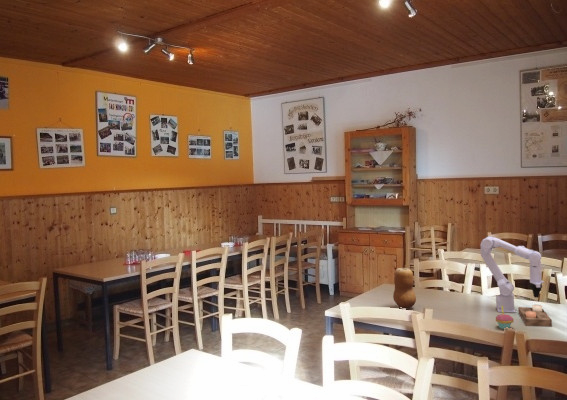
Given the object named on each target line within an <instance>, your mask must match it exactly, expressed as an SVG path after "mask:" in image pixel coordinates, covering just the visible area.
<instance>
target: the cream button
mask: <svg viewBox="0 0 567 400" xmlns="http://www.w3.org/2000/svg"><path fill="white" fill-rule="evenodd" d="M531 306H532V307H531V308H532V311H533V312H542V309H543V306H542V305H541V304H532V305H531Z"/></svg>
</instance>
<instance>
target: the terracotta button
mask: <svg viewBox="0 0 567 400" xmlns="http://www.w3.org/2000/svg"><path fill="white" fill-rule="evenodd" d="M526 317H528V318H536V312H533V311H527V312H526Z"/></svg>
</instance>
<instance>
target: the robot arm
mask: <svg viewBox="0 0 567 400" xmlns="http://www.w3.org/2000/svg"><path fill="white" fill-rule="evenodd" d="M500 247H501V248H502V249H505V250H508V251H511V252H514V254H515V255H516V256H518V257H520V258H523V259H525V260H528V261H529V283H530V284H529V286H530V287H531V290H532V294H533V297H534V298H537V299H538V298H539V297H540V293H541V290H542V288H543V285H542V284H543V283H545V281H544V280H542V261H541V260H542V254H541V253H540V252H539V251H538V250H534V249H530V248H527V247H525V246H524V245H517V246H516V245H514V244H511V243H509V242H507V241H504V240H502V239H500V238H498V237H494V236H491V235H490V236H489V235H488V236H486V237H485V238H483V239H482V240H481V242H480V257H481V258H482V260H483V261H484V263H485V265H486V266H487V268H488V269H489V271H490V273H491V274H492V276H493V278H494V280H495V281H496V283H497V287H498V290H499V293H500V294H497V295H496V296H495V302H496V303H495V307H496V310H497V312H498V313H502V306H503V312H504V313H517V310H516V309H515V294H514V293H513V292H514V291H515V286H514V284H513V283H511V282H510V281H509V279H508V278H506V277H505V275H504V274H503V272H502V270H501V269H500V267H499V265H498V264H497V262H496V261H495V259H494V257H493V256H492V254H491V253H492V250H493V249H494V248H500Z"/></svg>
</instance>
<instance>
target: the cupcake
mask: <svg viewBox="0 0 567 400" xmlns="http://www.w3.org/2000/svg"><path fill="white" fill-rule="evenodd" d="M495 322H497V324H498V327H499V329H500V330H505V329H504V328H506V327H508V328H509V329H510V328H511V325H512V324H513V323H514V318H513V317H512V316H511V315H509V314H507V313H505V312H503V306H502V312H501V313H500V314H498V315H496V316H495Z"/></svg>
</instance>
